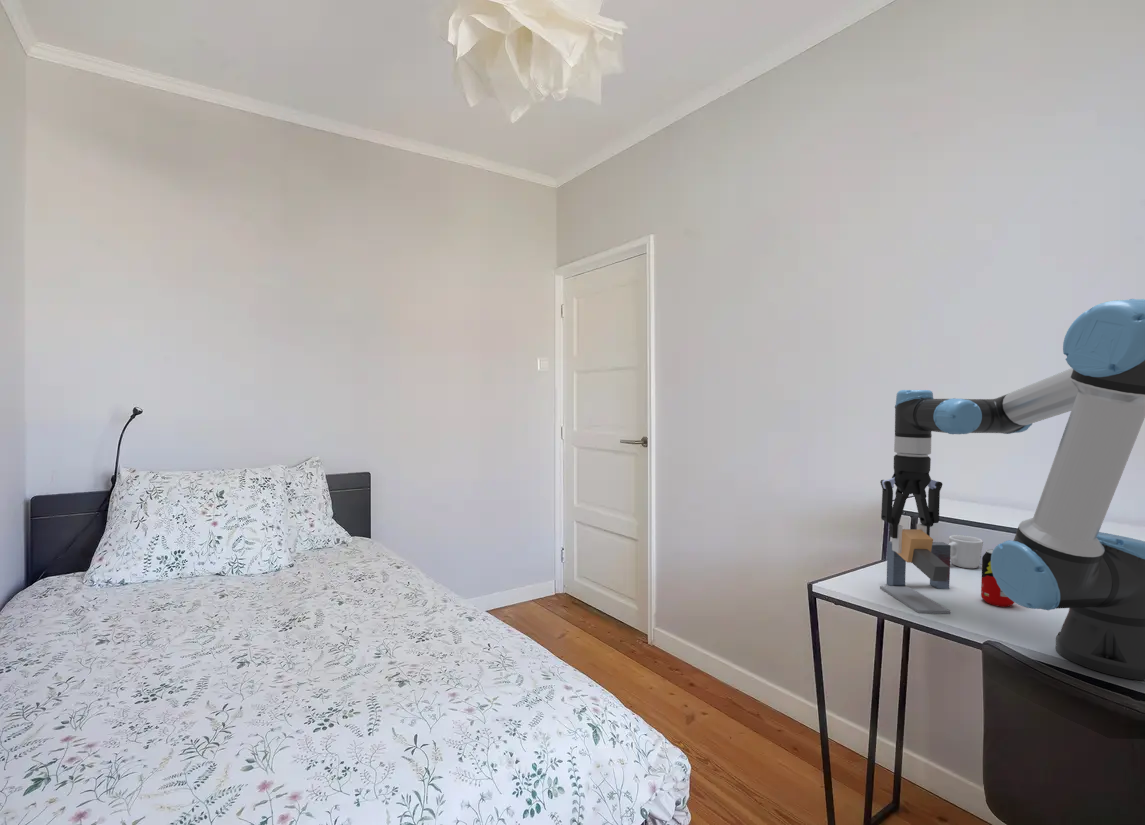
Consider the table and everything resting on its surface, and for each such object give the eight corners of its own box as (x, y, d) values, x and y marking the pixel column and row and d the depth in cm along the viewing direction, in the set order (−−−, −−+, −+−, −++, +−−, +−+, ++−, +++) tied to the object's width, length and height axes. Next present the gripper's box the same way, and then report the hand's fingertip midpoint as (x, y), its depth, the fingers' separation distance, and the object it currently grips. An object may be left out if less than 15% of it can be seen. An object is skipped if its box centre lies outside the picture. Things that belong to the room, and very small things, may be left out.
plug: (950, 581, 123) (955, 556, 122) (927, 580, 123) (932, 556, 122) (916, 552, 136) (920, 529, 134) (895, 552, 136) (899, 529, 134)
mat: (950, 613, 125) (950, 610, 125) (918, 613, 125) (918, 610, 125) (908, 588, 141) (908, 586, 141) (880, 588, 141) (880, 586, 141)
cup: (958, 571, 155) (959, 543, 155) (933, 563, 163) (934, 536, 163) (989, 569, 158) (990, 541, 158) (963, 561, 166) (964, 534, 165)
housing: (949, 588, 141) (950, 545, 141) (893, 588, 141) (894, 544, 141) (941, 584, 144) (942, 542, 144) (886, 584, 144) (887, 541, 144)
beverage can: (1004, 599, 134) (1006, 549, 134) (1021, 609, 128) (1022, 556, 128) (975, 597, 135) (976, 547, 135) (990, 607, 129) (992, 555, 129)
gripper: (940, 453, 138) (936, 548, 138) (865, 452, 138) (862, 546, 139) (961, 457, 130) (957, 556, 131) (882, 456, 130) (879, 555, 131)
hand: (908, 551), depth 135 cm, fingers closed on plug, 5 cm apart
